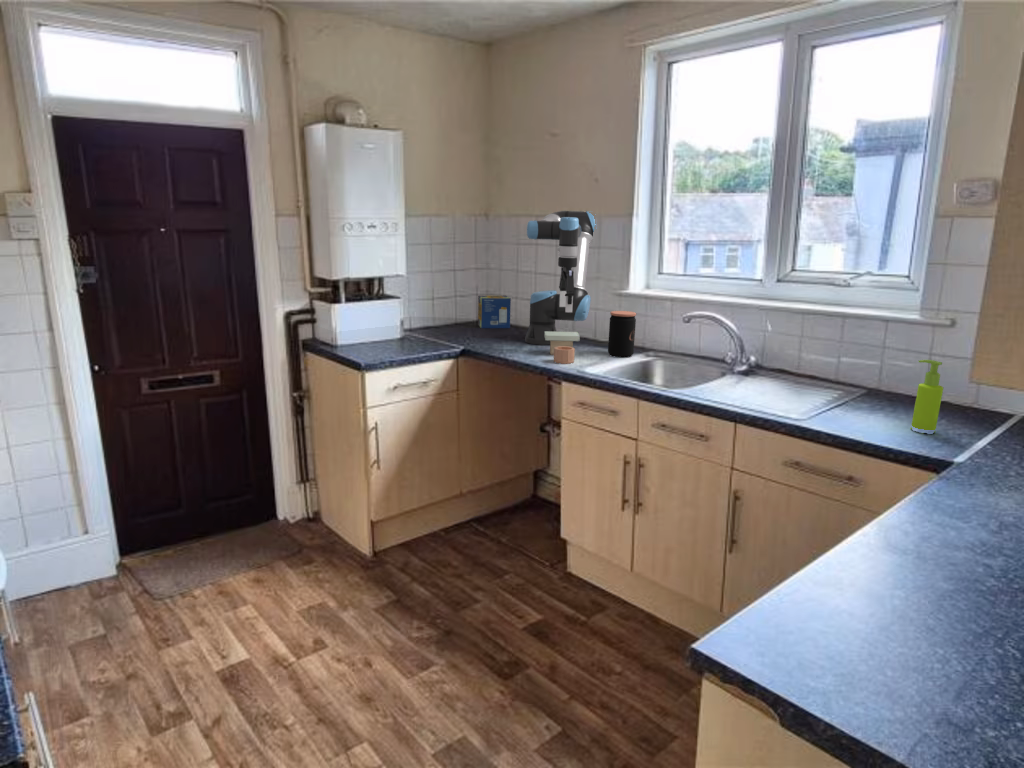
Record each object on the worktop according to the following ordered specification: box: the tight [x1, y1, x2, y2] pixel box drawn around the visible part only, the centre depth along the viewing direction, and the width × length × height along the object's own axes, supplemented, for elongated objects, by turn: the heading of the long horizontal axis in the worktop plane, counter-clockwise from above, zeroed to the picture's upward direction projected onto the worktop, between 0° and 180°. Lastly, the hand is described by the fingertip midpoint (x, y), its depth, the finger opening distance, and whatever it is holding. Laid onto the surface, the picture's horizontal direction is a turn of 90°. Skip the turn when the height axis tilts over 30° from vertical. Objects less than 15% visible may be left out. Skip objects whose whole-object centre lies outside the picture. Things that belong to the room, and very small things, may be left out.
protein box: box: [477, 295, 512, 329], centre depth 344 cm, size 10×15×16 cm
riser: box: [549, 340, 574, 356], centre depth 280 cm, size 6×9×6 cm, turn 90°
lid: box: [544, 331, 581, 342], centre depth 279 cm, size 10×14×2 cm
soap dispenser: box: [911, 359, 944, 430], centre depth 185 cm, size 6×7×20 cm
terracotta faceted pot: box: [553, 346, 576, 365], centre depth 265 cm, size 8×8×6 cm
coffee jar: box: [607, 310, 637, 358], centre depth 279 cm, size 11×11×18 cm
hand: (565, 309), depth 275 cm, fingers open, 13 cm apart
